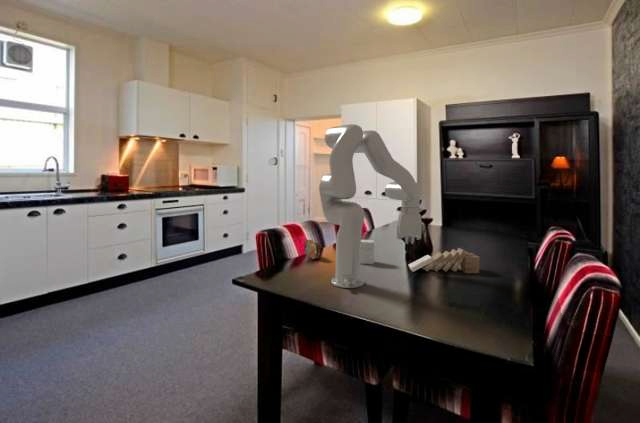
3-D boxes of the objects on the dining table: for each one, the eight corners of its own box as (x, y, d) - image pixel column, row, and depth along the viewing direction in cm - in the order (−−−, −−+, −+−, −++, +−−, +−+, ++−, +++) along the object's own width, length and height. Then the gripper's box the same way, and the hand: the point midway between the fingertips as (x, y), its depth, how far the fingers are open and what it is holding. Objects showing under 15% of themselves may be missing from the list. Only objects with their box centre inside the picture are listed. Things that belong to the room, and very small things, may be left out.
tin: (303, 254, 188) (303, 238, 187) (309, 253, 189) (309, 237, 188) (315, 261, 174) (315, 243, 173) (321, 260, 176) (321, 243, 175)
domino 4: (441, 268, 164) (456, 251, 163) (446, 271, 159) (460, 254, 158) (438, 266, 163) (452, 249, 163) (442, 269, 159) (457, 251, 158)
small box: (373, 261, 175) (374, 239, 174) (373, 264, 170) (374, 242, 168) (356, 260, 176) (357, 239, 175) (356, 263, 171) (357, 241, 169)
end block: (478, 273, 158) (479, 257, 157) (465, 272, 158) (466, 257, 157) (470, 268, 166) (471, 253, 165) (457, 267, 165) (458, 252, 165)
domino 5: (451, 268, 164) (462, 249, 163) (455, 271, 159) (467, 252, 158) (447, 266, 164) (458, 247, 163) (451, 269, 159) (463, 250, 158)
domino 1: (409, 268, 163) (429, 258, 163) (413, 271, 158) (433, 261, 158) (407, 264, 163) (427, 254, 163) (411, 267, 158) (431, 257, 158)
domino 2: (423, 268, 163) (441, 255, 163) (427, 271, 158) (445, 257, 158) (420, 265, 163) (438, 251, 163) (424, 268, 158) (442, 254, 158)
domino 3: (432, 268, 164) (448, 253, 163) (436, 271, 159) (453, 256, 158) (429, 265, 163) (446, 250, 163) (433, 268, 158) (450, 253, 158)
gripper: (424, 210, 162) (422, 250, 164) (391, 209, 161) (389, 250, 163) (430, 212, 154) (427, 254, 156) (395, 211, 154) (393, 254, 156)
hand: (408, 252), depth 160 cm, fingers closed
